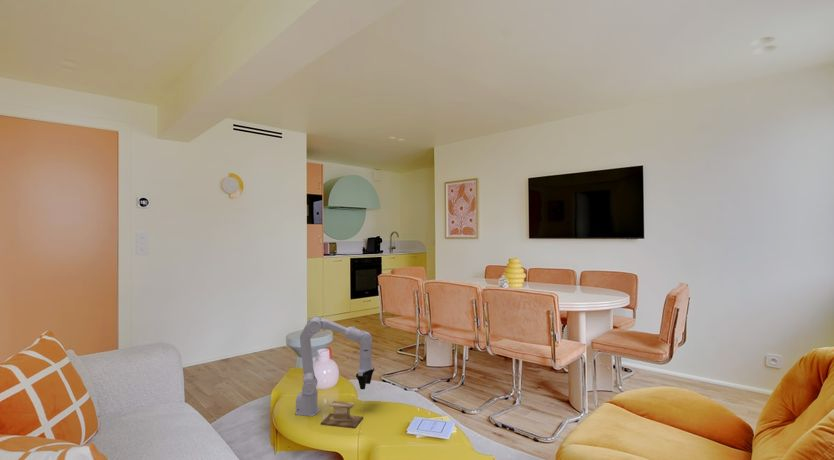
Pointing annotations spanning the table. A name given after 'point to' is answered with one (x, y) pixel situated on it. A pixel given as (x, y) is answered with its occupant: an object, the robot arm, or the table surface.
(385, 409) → the table surface
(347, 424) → the walnut board
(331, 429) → the table surface
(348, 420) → the oak stool
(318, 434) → the table surface
